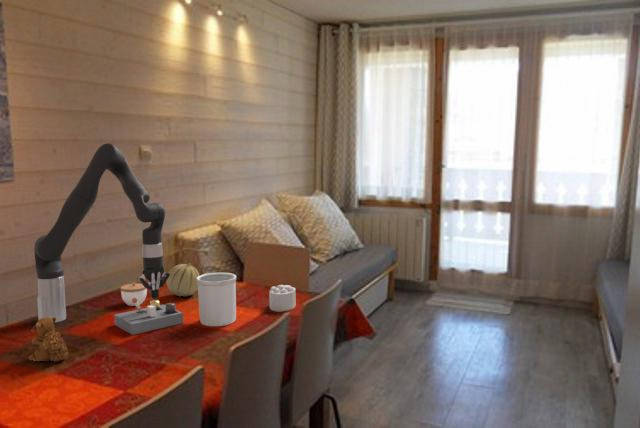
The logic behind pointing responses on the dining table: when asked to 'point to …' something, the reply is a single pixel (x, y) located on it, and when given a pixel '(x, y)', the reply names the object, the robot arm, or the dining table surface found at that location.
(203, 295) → the utensil holder
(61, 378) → the dining table surface
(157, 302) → the button brass
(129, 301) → the lidded jar
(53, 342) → the brown teddy bear
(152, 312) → the matte white cuboid
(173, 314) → the panel
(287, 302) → the lumpy-topped squat cylinder
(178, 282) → the cantaloupe
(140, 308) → the toggle lever
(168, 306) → the button dark gray
